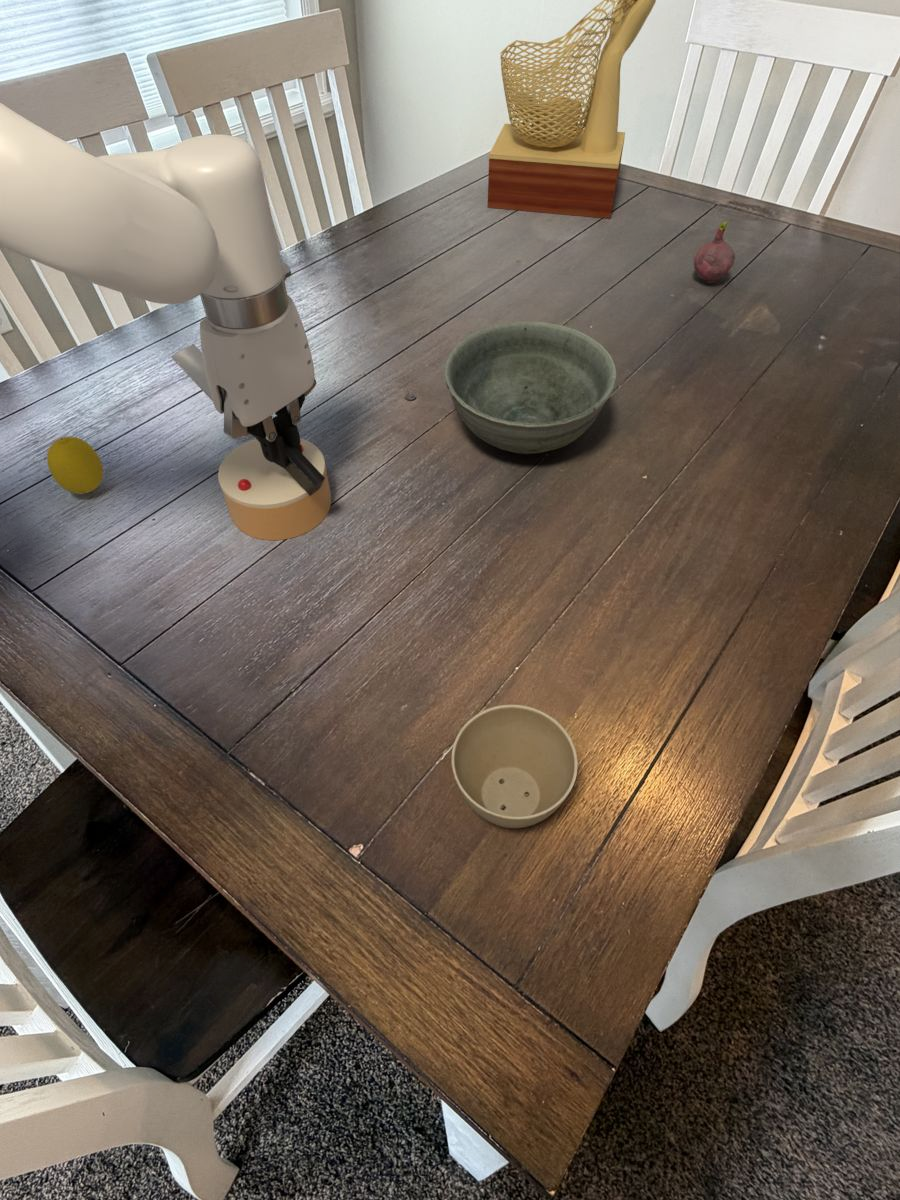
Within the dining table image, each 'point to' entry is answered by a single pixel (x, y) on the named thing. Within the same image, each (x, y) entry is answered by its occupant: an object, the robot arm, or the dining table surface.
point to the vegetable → (714, 258)
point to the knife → (297, 462)
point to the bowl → (529, 384)
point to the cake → (271, 493)
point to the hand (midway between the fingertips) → (284, 456)
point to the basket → (565, 121)
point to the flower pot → (514, 765)
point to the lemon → (75, 465)
